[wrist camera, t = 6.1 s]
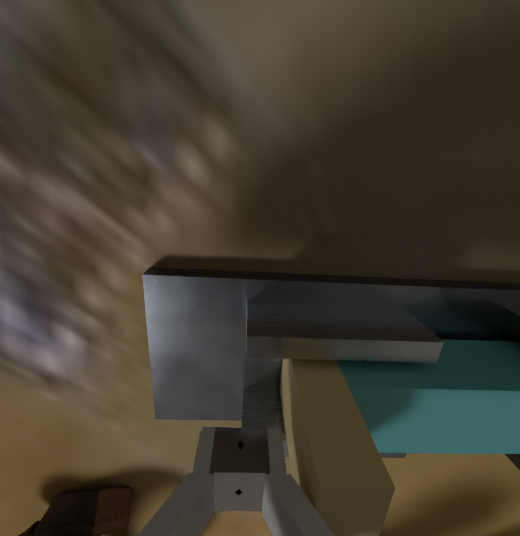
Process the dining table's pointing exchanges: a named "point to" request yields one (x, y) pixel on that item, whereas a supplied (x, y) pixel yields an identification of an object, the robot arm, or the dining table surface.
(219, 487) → the robot arm
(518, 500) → the dining table surface
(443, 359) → the teal yellow slider block
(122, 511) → the pottery mug
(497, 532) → the dining table surface
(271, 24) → the dining table surface
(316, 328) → the guide
